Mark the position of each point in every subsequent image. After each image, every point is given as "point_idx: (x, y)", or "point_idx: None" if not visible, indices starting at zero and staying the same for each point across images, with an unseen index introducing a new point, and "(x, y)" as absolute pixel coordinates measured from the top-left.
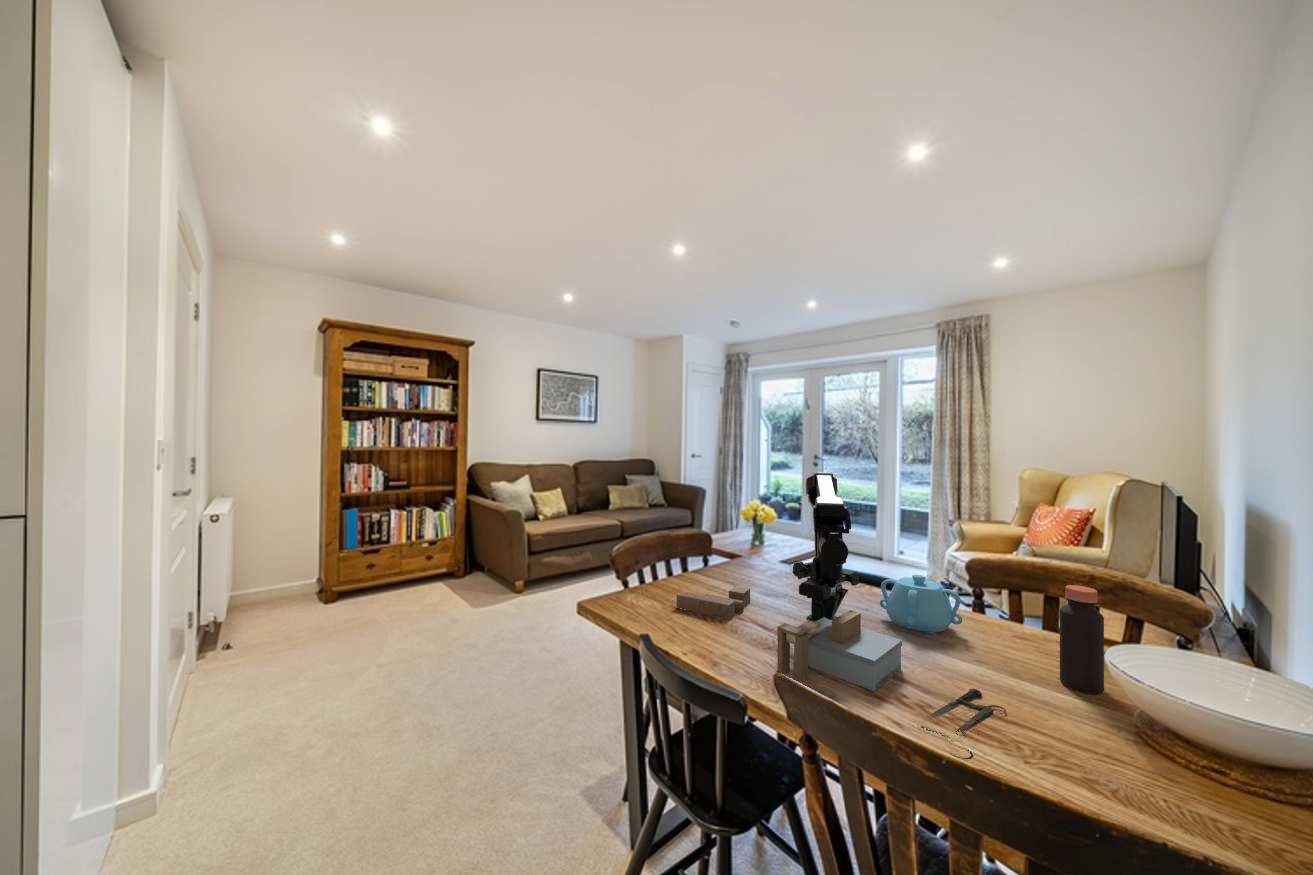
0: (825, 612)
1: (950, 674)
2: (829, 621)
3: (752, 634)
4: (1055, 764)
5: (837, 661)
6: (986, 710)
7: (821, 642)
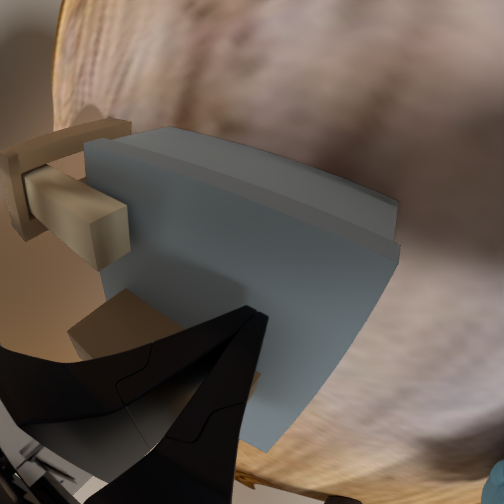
0: (207, 323)
1: (316, 443)
2: (322, 298)
3: None
4: None
5: None
6: None
7: None
